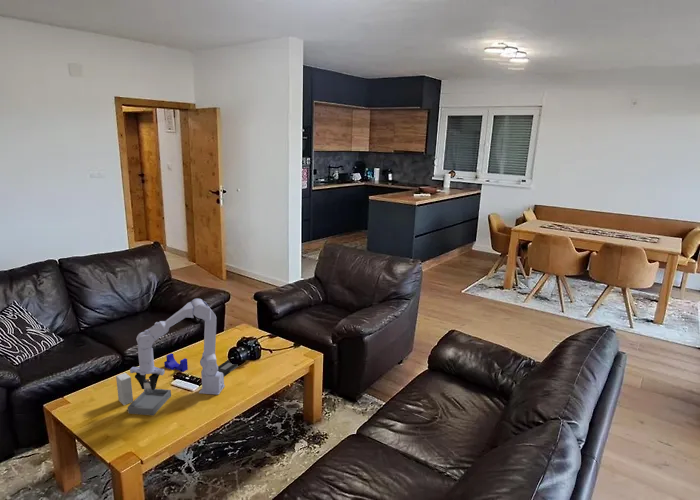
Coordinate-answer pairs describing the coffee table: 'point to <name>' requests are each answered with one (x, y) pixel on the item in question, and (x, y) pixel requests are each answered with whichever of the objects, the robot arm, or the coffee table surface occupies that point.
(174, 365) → the cable clip
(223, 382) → the robot arm
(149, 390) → the cell
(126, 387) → the skincare box
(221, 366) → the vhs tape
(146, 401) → the grey tray
